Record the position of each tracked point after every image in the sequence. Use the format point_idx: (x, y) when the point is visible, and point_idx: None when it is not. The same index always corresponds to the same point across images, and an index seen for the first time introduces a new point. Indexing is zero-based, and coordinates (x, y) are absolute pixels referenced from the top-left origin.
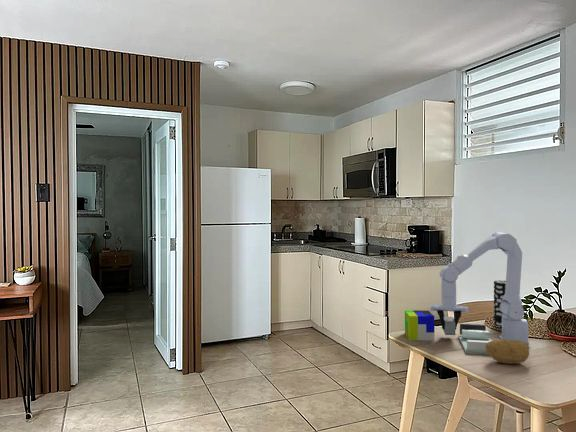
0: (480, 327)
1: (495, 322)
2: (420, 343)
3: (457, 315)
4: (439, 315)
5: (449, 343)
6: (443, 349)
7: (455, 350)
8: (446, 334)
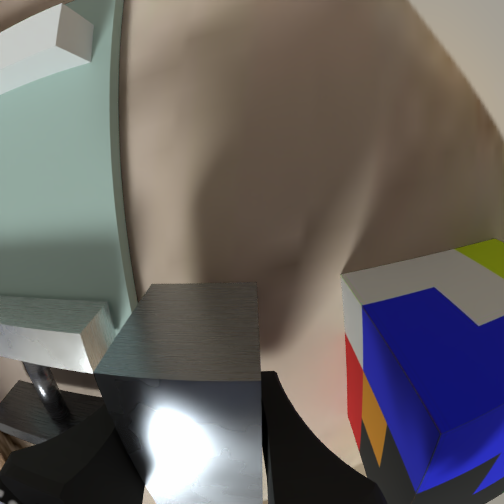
0: (15, 416)
1: None
2: (449, 170)
3: (47, 466)
4: (355, 479)
5: (220, 214)
6: (286, 35)
7: (188, 33)
8: (240, 285)
